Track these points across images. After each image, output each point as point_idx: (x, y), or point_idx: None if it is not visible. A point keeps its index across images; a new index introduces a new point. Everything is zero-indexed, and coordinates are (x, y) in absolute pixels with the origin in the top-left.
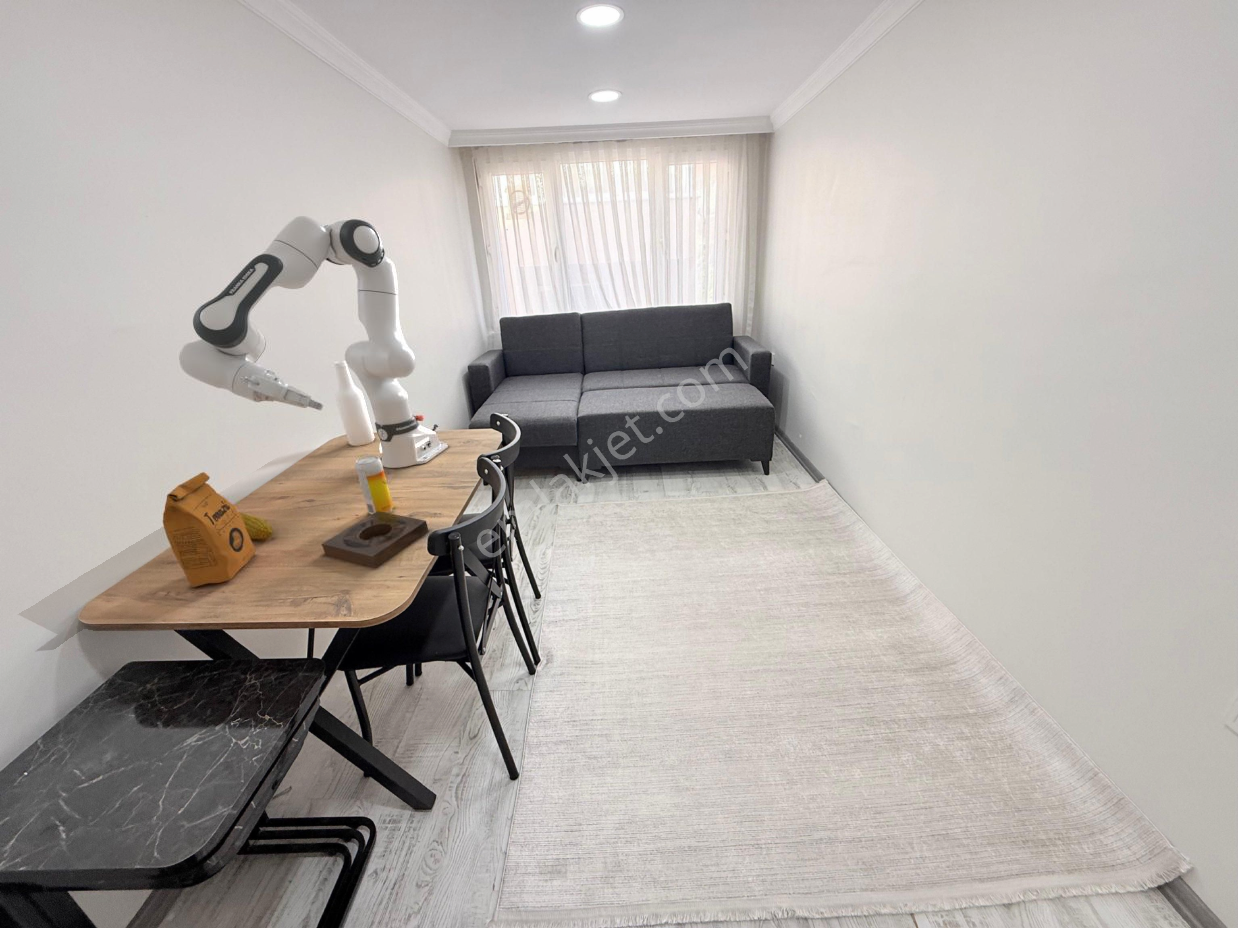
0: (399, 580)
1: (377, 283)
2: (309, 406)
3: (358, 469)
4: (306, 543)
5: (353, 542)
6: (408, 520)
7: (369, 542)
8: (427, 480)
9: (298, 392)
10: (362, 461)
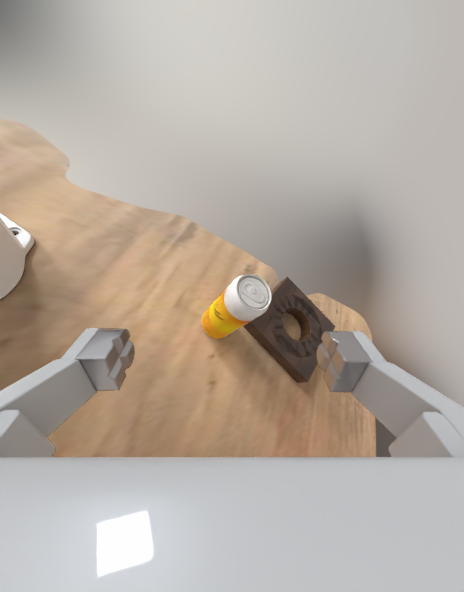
0: (340, 313)
1: None
2: (61, 422)
3: (264, 312)
4: (267, 415)
5: (312, 345)
6: (283, 291)
7: (314, 329)
8: (135, 256)
9: (225, 457)
10: (257, 299)
